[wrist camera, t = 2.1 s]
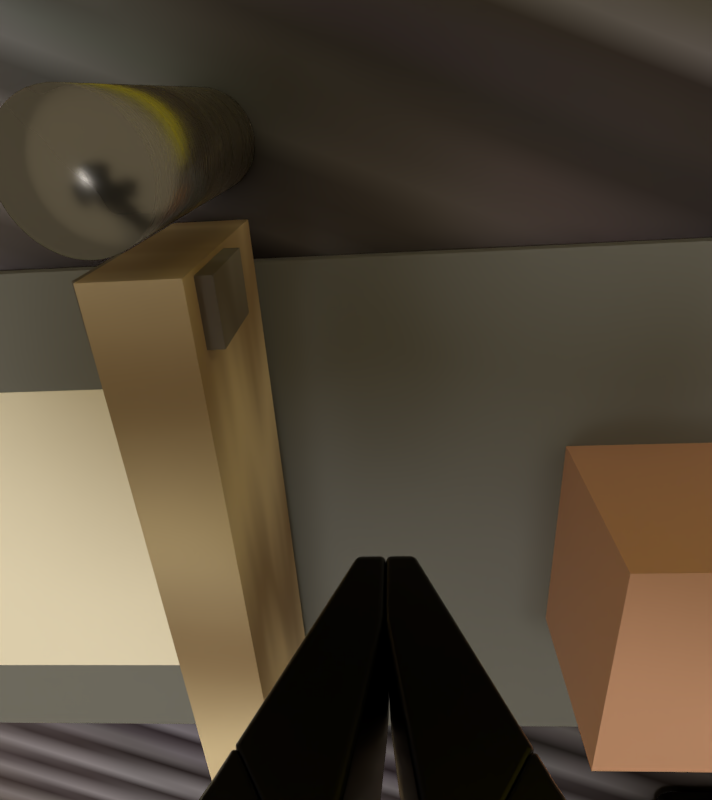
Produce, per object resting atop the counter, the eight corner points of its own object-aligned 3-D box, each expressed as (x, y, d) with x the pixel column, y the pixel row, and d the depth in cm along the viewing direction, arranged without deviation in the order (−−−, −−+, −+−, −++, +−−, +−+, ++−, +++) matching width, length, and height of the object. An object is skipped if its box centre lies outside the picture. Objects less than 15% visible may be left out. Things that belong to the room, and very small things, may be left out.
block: (755, 617, 17) (866, 774, 13) (545, 618, 18) (591, 770, 14) (816, 440, 15) (977, 570, 11) (566, 446, 15) (630, 574, 11)
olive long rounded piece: (334, 738, 21) (316, 953, 16) (268, 737, 21) (228, 950, 16) (257, 83, 12) (152, 75, 7) (140, 91, 12) (-55, 89, 7)
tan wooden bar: (323, 704, 19) (306, 862, 15) (256, 704, 20) (222, 861, 16) (261, 218, 12) (202, 277, 8) (159, 224, 13) (53, 284, 9)
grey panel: (745, 719, 20) (750, 728, 20) (-108, 714, 22) (-114, 721, 22) (926, 227, 13) (938, 230, 12) (-376, 288, 15) (-391, 292, 14)
